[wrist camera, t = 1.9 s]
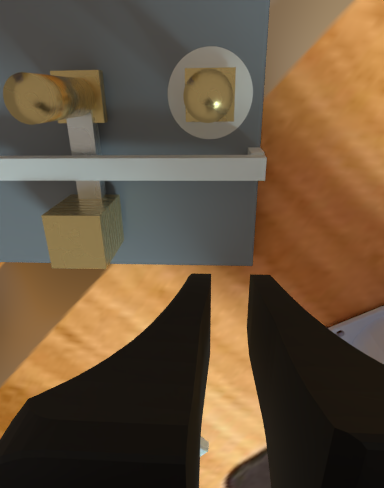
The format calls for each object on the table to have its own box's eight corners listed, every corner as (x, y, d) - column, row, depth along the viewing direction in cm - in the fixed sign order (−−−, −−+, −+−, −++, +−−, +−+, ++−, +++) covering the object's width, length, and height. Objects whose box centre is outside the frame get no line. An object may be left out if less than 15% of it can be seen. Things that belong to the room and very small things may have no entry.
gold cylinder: (235, 68, 15) (244, 56, 10) (233, 120, 16) (241, 132, 11) (185, 69, 15) (172, 58, 11) (186, 121, 16) (175, 132, 11)
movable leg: (106, 70, 16) (59, 60, 11) (124, 240, 19) (93, 289, 14) (51, 71, 16) (-20, 62, 11) (78, 239, 19) (33, 288, 14)
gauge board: (266, -3, 15) (280, -29, 12) (250, 256, 21) (257, 287, 17) (-150, 10, 17) (-240, -10, 13) (-65, 252, 22) (-114, 280, 19)
